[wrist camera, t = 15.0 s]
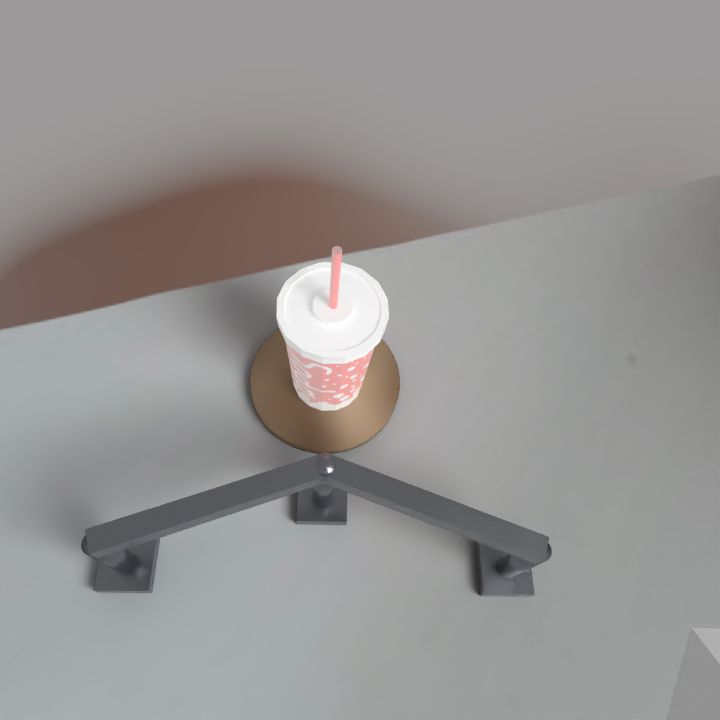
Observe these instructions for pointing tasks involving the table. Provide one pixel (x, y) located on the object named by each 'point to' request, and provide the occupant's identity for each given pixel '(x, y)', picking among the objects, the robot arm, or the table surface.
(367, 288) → the beverage cup
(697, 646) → the robot arm
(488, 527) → the bent rail
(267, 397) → the walnut pad
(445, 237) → the table surface
